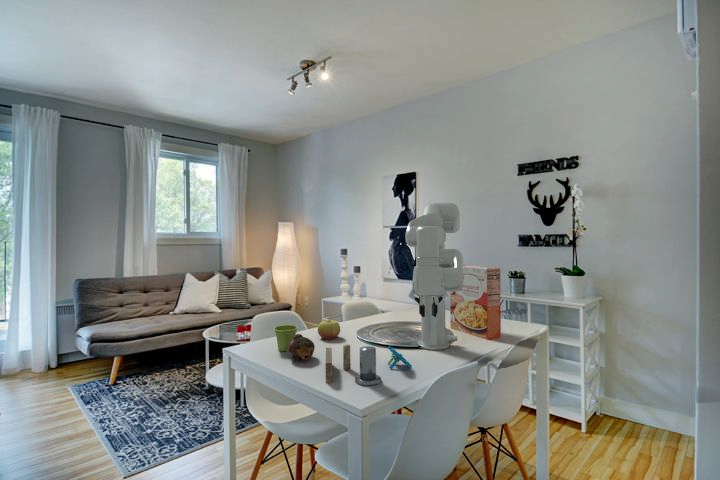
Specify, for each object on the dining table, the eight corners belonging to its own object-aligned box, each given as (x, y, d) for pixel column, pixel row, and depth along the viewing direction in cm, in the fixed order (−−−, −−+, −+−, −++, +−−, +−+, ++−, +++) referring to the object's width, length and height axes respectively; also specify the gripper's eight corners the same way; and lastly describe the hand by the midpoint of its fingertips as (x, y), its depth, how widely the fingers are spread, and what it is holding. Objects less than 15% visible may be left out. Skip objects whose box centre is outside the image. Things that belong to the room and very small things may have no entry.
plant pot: (303, 349, 151) (302, 327, 151) (283, 354, 145) (283, 331, 144) (288, 344, 158) (288, 323, 158) (269, 349, 151) (269, 327, 151)
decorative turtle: (306, 350, 149) (307, 330, 149) (320, 365, 136) (322, 343, 135) (282, 353, 144) (283, 332, 144) (294, 368, 131) (295, 345, 131)
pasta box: (450, 328, 182) (450, 265, 182) (463, 326, 186) (462, 264, 185) (487, 339, 162) (486, 269, 161) (500, 337, 165) (500, 268, 165)
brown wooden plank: (332, 364, 133) (331, 347, 133) (332, 382, 117) (332, 362, 117) (326, 364, 133) (326, 347, 132) (325, 382, 117) (325, 363, 116)
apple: (336, 334, 174) (336, 316, 174) (343, 339, 165) (343, 321, 165) (315, 336, 170) (315, 318, 170) (321, 342, 161) (320, 323, 161)
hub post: (379, 375, 122) (378, 344, 122) (382, 385, 114) (382, 352, 114) (354, 376, 121) (353, 345, 121) (356, 386, 113) (355, 353, 113)
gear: (416, 367, 124) (394, 346, 124) (405, 381, 123) (382, 360, 123) (406, 361, 135) (386, 342, 135) (396, 374, 134) (375, 354, 134)
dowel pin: (350, 367, 129) (350, 344, 129) (350, 370, 127) (350, 346, 127) (343, 368, 129) (343, 344, 129) (343, 370, 127) (343, 346, 127)
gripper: (448, 261, 134) (448, 313, 134) (401, 262, 133) (402, 314, 133) (455, 262, 127) (455, 318, 127) (406, 263, 125) (406, 319, 126)
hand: (428, 315), depth 130 cm, fingers open, 3 cm apart
